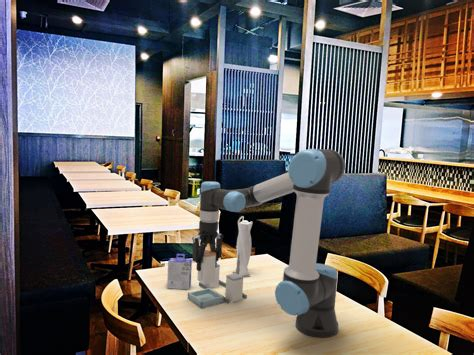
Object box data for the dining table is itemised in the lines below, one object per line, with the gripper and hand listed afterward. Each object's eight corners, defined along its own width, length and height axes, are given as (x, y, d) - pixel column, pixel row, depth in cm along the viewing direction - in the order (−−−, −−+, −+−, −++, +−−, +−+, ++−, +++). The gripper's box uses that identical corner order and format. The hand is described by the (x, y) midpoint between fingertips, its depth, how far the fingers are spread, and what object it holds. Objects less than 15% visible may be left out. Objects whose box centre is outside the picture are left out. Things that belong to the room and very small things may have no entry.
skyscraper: (231, 271, 201) (234, 216, 198) (246, 270, 204) (249, 215, 200) (236, 277, 193) (239, 219, 190) (252, 276, 196) (255, 219, 192)
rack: (246, 298, 170) (247, 275, 169) (227, 303, 164) (228, 280, 163) (216, 281, 187) (217, 260, 186) (198, 285, 181) (199, 264, 180)
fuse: (214, 281, 164) (215, 253, 163) (204, 284, 161) (205, 254, 160) (207, 277, 168) (209, 249, 167) (197, 280, 165) (198, 251, 164)
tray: (223, 302, 165) (223, 296, 164) (201, 308, 158) (201, 302, 158) (209, 293, 173) (209, 287, 173) (187, 298, 167) (187, 292, 166)
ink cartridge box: (191, 285, 181) (192, 253, 180) (189, 290, 176) (190, 257, 174) (169, 284, 181) (170, 252, 180) (166, 288, 176) (167, 256, 174)
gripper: (222, 216, 170) (219, 270, 173) (184, 220, 159) (182, 277, 162) (232, 220, 164) (229, 275, 167) (194, 224, 153) (191, 284, 156)
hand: (206, 276), depth 165 cm, fingers closed on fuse, 5 cm apart
